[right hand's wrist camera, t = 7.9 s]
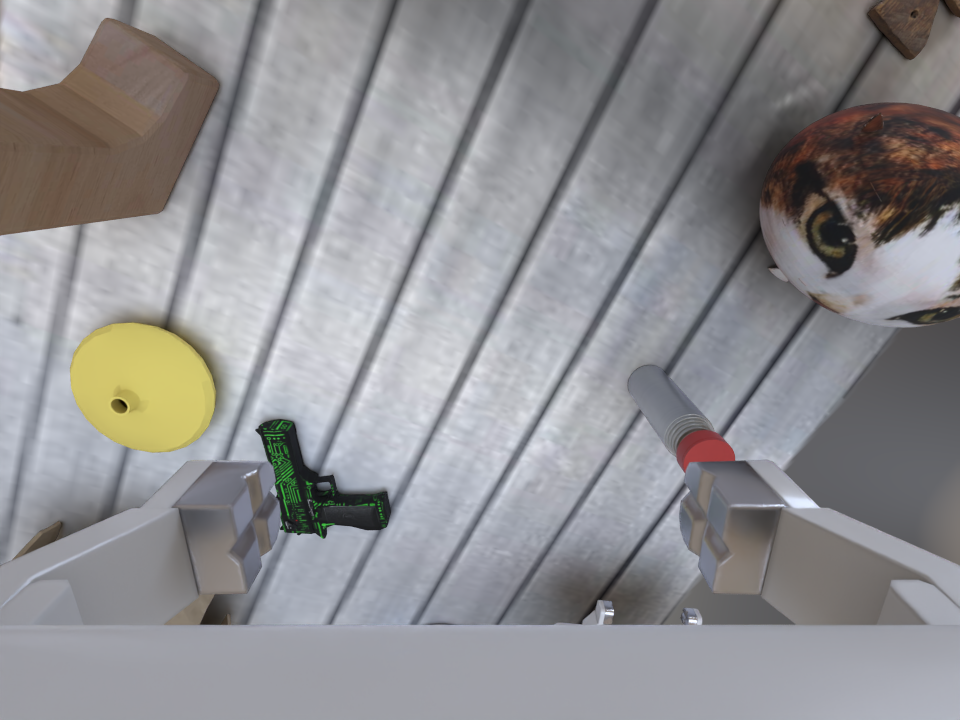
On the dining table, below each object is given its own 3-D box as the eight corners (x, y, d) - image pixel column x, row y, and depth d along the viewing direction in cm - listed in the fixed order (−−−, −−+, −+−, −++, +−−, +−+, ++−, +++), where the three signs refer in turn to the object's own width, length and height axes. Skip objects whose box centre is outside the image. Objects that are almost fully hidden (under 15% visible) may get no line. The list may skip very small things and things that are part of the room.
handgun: (389, 543, 66) (269, 546, 65) (392, 528, 69) (277, 531, 68) (380, 427, 61) (249, 430, 60) (384, 416, 63) (258, 419, 63)
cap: (702, 420, 46) (711, 430, 44) (736, 448, 47) (745, 459, 45) (665, 454, 47) (672, 465, 45) (699, 481, 48) (707, 493, 46)
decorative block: (224, 83, 51) (-98, -25, 22) (163, 215, 55) (-173, 265, 27) (151, 32, 49) (-293, -152, 21) (93, 172, 53) (-340, 176, 25)
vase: (69, 396, 62) (19, 423, 55) (118, 288, 57) (71, 303, 51) (193, 462, 65) (160, 495, 58) (249, 364, 60) (221, 388, 54)
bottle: (647, 357, 60) (709, 426, 44) (675, 380, 61) (745, 456, 45) (619, 386, 62) (669, 463, 45) (647, 408, 63) (705, 492, 46)
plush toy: (672, 282, 52) (875, 159, 34) (716, 160, 59) (905, 3, 40) (840, 392, 55) (1106, 336, 37) (864, 265, 62) (1099, 164, 44)
